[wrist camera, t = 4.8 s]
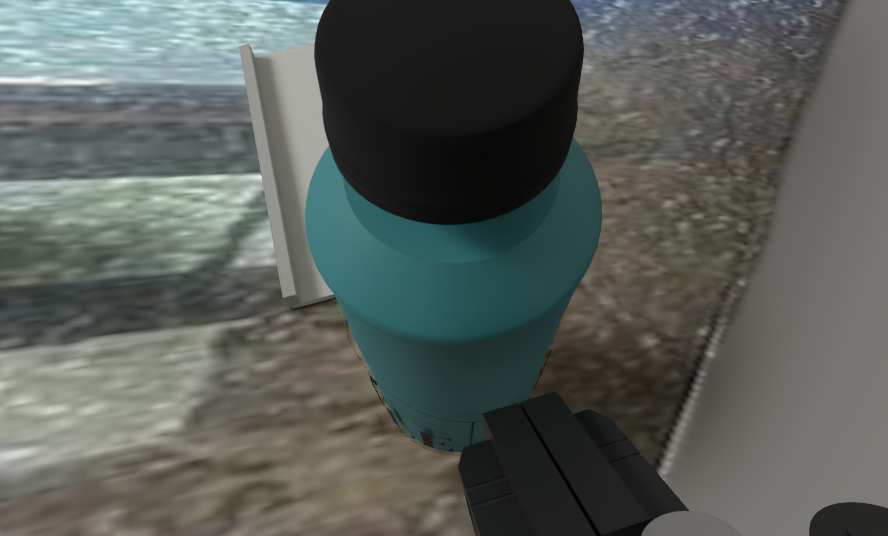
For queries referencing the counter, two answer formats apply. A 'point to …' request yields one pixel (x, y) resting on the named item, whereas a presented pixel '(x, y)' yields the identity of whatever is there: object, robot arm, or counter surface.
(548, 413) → the robot arm
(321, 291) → the panel with raised edges
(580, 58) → the beverage bottle
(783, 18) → the counter surface
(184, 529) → the counter surface
